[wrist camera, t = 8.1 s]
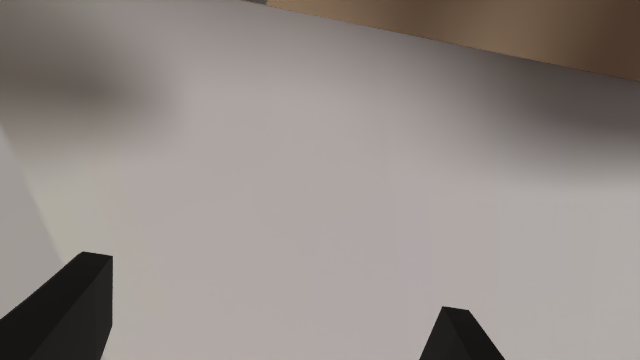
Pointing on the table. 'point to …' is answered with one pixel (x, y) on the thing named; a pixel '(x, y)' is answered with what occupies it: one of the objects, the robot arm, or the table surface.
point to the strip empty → (506, 27)
